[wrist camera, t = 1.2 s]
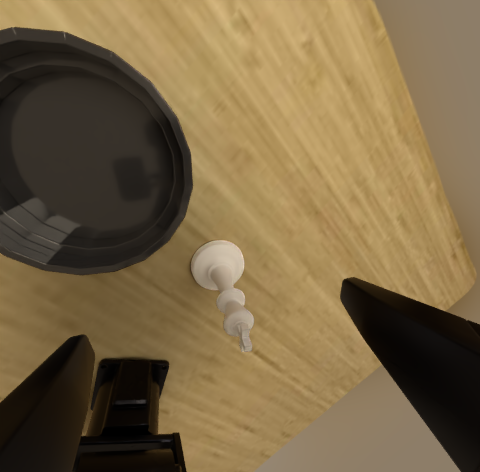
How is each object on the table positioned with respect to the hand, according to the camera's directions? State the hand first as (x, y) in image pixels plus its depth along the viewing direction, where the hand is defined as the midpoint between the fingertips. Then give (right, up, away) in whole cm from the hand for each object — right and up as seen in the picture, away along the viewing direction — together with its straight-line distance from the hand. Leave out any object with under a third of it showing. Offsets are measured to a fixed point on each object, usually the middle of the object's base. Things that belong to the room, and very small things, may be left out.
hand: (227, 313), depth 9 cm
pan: (-10, +8, +9) cm, 15 cm away
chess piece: (-2, 0, +15) cm, 15 cm away
